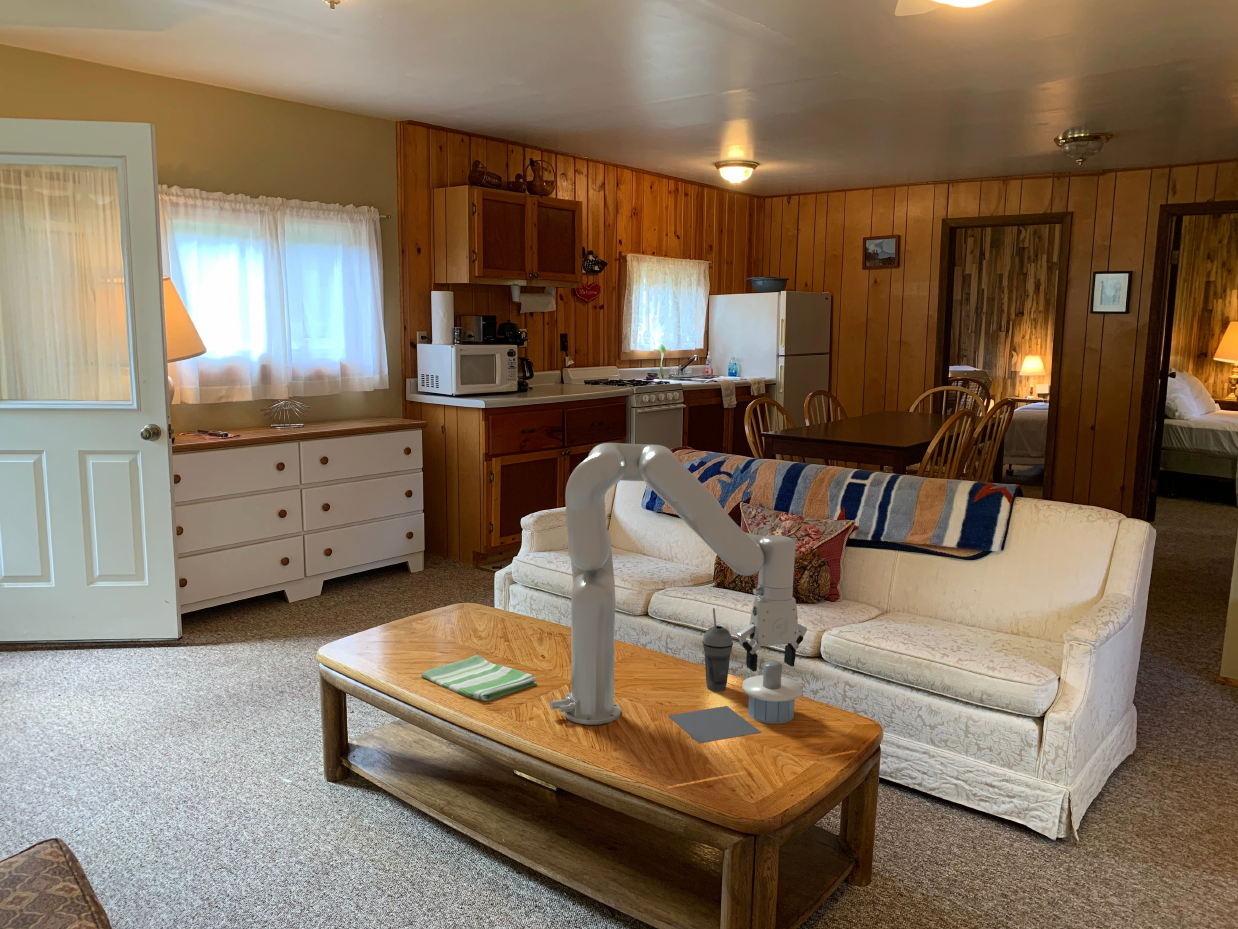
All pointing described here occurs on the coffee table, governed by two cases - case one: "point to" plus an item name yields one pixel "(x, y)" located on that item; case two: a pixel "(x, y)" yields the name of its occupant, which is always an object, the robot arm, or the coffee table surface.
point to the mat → (713, 724)
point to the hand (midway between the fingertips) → (770, 667)
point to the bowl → (771, 710)
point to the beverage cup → (717, 656)
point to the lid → (772, 685)
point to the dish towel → (479, 678)
